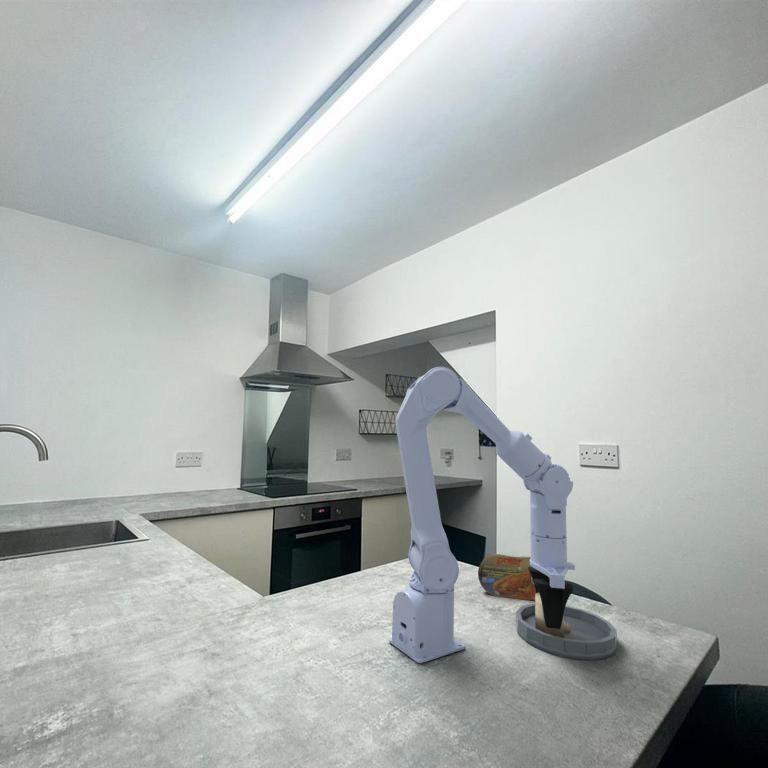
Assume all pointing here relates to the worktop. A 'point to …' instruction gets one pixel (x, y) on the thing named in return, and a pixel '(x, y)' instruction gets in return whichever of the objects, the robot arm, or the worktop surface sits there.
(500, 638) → the worktop surface
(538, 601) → the beige cylinder
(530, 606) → the round tray
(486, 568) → the tin
